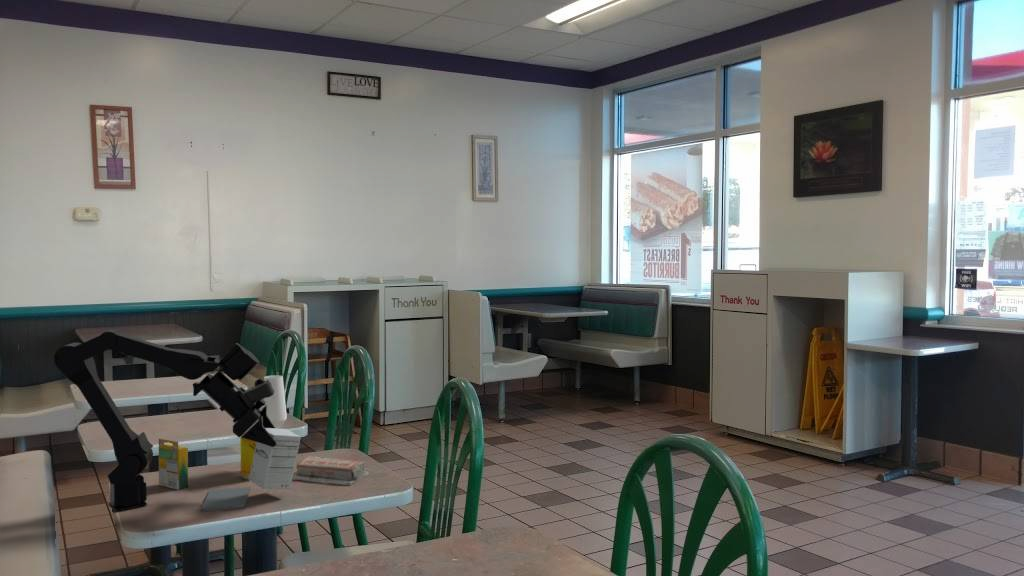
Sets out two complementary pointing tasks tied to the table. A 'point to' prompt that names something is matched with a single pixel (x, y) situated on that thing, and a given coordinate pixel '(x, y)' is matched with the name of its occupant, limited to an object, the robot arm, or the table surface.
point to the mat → (226, 498)
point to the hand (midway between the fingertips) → (276, 440)
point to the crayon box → (173, 465)
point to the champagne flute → (276, 401)
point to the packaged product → (329, 470)
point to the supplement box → (275, 460)
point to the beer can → (247, 456)
